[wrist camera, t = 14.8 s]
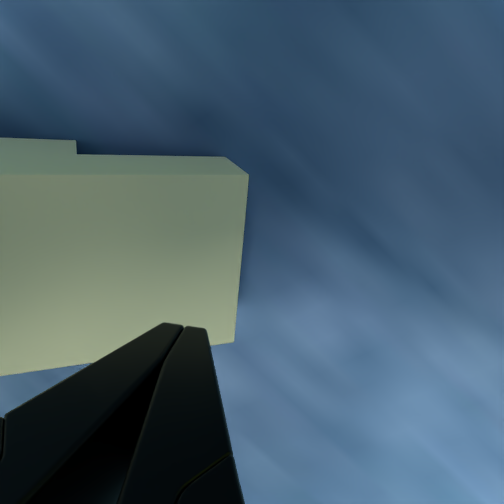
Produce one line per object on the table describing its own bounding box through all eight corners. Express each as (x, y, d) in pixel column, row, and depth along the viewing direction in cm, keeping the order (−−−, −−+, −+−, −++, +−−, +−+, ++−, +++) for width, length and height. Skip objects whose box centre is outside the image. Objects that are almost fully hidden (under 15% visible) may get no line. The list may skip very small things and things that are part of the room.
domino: (248, 174, 11) (-165, 174, 8) (233, 341, 13) (-100, 390, 10) (225, 156, 12) (-123, 151, 9) (214, 307, 14) (-74, 339, 12)
